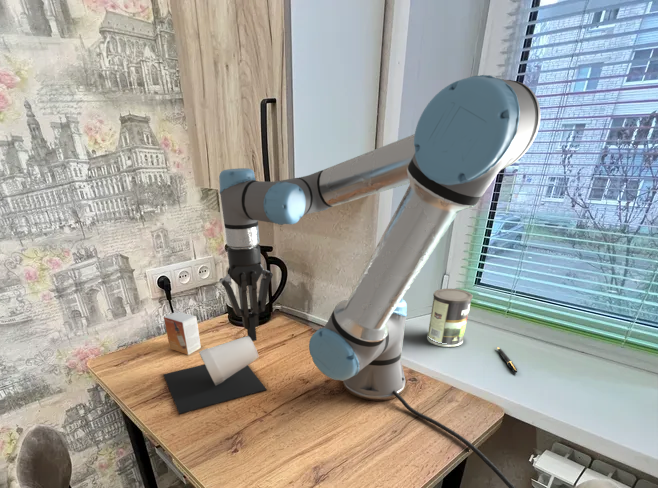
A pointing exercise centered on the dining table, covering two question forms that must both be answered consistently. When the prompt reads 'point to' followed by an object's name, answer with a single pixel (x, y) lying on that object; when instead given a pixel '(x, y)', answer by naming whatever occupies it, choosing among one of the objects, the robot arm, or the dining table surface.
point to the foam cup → (228, 358)
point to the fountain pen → (508, 360)
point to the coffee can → (449, 317)
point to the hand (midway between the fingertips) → (252, 338)
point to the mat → (209, 387)
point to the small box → (182, 332)
